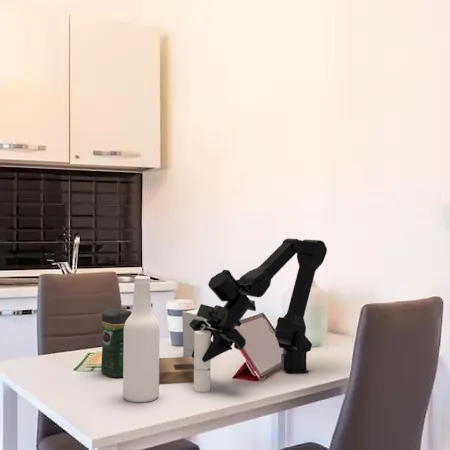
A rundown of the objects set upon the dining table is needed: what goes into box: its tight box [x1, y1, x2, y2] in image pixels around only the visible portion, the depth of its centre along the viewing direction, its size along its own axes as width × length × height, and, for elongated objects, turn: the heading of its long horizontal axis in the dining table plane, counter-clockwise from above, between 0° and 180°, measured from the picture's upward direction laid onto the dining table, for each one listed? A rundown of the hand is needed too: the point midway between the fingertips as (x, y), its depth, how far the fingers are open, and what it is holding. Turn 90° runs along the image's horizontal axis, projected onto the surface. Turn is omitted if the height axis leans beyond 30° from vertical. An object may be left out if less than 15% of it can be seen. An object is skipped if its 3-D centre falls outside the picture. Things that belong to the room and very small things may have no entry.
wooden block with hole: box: [159, 356, 194, 385], centre depth 166 cm, size 14×16×3 cm
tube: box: [193, 330, 212, 393], centre depth 152 cm, size 4×4×15 cm
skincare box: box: [181, 309, 211, 359], centre depth 186 cm, size 8×6×15 cm
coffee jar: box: [100, 307, 132, 378], centre depth 166 cm, size 10×8×19 cm
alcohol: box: [122, 275, 161, 404], centre depth 145 cm, size 9×9×30 cm
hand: (197, 359), depth 151 cm, fingers closed on tube, 4 cm apart
